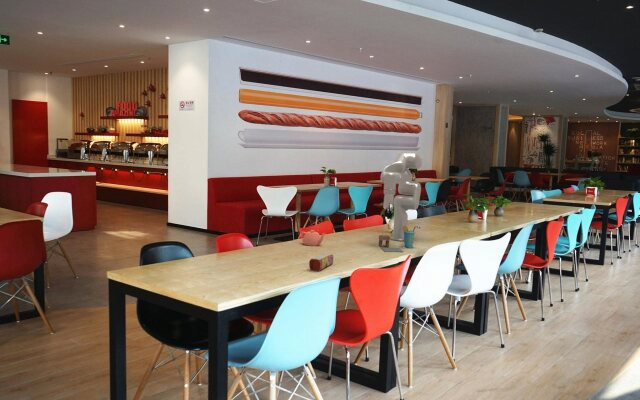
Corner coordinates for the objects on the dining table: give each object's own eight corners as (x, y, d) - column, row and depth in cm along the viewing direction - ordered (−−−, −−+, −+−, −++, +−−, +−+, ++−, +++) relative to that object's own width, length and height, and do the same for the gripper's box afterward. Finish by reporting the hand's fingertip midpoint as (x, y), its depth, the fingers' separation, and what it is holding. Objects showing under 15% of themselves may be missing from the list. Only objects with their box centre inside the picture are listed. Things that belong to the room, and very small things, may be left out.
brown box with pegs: (378, 245, 374) (379, 235, 373) (387, 245, 375) (388, 235, 374) (380, 247, 368) (380, 236, 367) (389, 247, 369) (389, 236, 368)
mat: (381, 248, 365) (381, 247, 365) (399, 248, 366) (399, 247, 366) (384, 251, 353) (384, 251, 353) (403, 252, 354) (403, 251, 354)
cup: (421, 248, 370) (423, 225, 369) (415, 249, 364) (417, 226, 363) (403, 245, 379) (405, 223, 378) (397, 246, 373) (398, 224, 372)
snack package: (322, 263, 312) (323, 251, 311) (334, 264, 310) (334, 252, 309) (308, 270, 292) (308, 257, 292) (320, 272, 290) (320, 259, 289)
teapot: (305, 241, 375) (306, 227, 374) (329, 245, 366) (330, 230, 365) (296, 244, 365) (296, 229, 364) (320, 248, 356) (321, 233, 355)
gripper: (381, 190, 375) (380, 216, 376) (386, 192, 358) (384, 219, 359) (392, 191, 375) (391, 216, 377) (397, 193, 358) (396, 220, 360)
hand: (387, 217), depth 368 cm, fingers open, 9 cm apart
